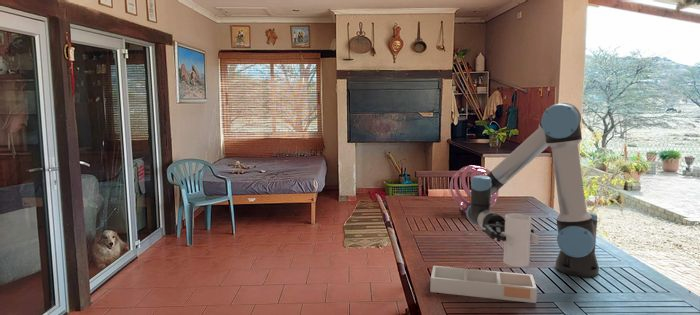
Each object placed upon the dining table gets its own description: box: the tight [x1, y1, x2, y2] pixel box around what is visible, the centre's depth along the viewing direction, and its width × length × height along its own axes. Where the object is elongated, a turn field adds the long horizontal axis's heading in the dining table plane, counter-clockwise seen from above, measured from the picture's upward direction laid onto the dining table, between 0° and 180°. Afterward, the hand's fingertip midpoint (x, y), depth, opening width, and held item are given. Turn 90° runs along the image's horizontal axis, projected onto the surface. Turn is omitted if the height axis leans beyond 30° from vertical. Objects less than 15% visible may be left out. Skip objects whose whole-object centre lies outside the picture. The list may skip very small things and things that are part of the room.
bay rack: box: [429, 265, 538, 304], centre depth 159 cm, size 34×12×5 cm, turn 75°
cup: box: [502, 212, 532, 268], centre depth 155 cm, size 8×8×16 cm
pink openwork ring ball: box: [449, 164, 499, 212], centre depth 269 cm, size 28×28×27 cm
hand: (525, 241), depth 150 cm, fingers closed on cup, 8 cm apart
